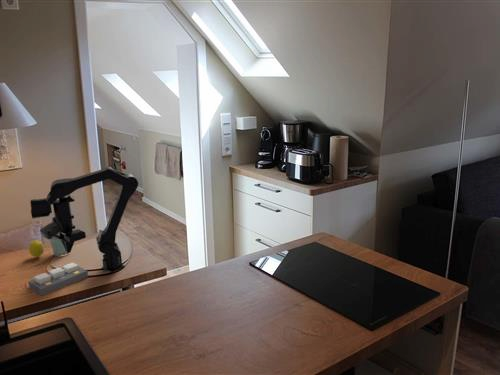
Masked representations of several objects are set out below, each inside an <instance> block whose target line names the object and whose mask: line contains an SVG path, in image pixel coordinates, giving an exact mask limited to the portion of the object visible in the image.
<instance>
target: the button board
mask: <svg viewBox="0 0 500 375" xmlns="http://www.w3.org/2000/svg"><path fill="white" fill-rule="evenodd" d="M61 269H63V267H62V268H61ZM64 272H65V271H64ZM47 274H48V275H49V273H47ZM88 277H89V272H88V270H86V269H85V268H83V267H81V266H79V265H78V270H77V271H74V272H71V273H69V274H68V273H67V272H65V275H64V276H61V277H59V278H56V279H54V278H52V277H50V278H51V281H48V282H46V283H43V284H38V283H36V282H35V279H34V278H32V279H31V280H28V287H29V289H31V290H33V291H34V292H36V293H37V294H39V295H40V296H44V295H47V294H49V293H52V292H54V291H57V290H59V289H62V288H65V287H66V286H70V285H72V284H74V283H76V282H79V281H81V280H84V279H86V278H88Z"/></svg>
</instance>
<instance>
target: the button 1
mask: <svg viewBox="0 0 500 375" xmlns="http://www.w3.org/2000/svg"><path fill="white" fill-rule="evenodd" d="M48 274H49V273H46V272H43V273H41V274H38V275H35V276H34V277H33V279H35V282H36V283H38V284H43V283H46V282H48V281H51V278H50V275H48Z"/></svg>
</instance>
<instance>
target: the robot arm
mask: <svg viewBox="0 0 500 375" xmlns="http://www.w3.org/2000/svg"><path fill="white" fill-rule="evenodd" d="M107 180H110V181H113V182H114V183H116V184H118V185H119V186H118V187H119V188H118V194H117V198H116V201H115V203H114V206H113V208H112V211H111V213H110V216H109V219H108V221H107V224H106V227H105V228H104V229H99V230H98V231H99V232H98V235H97V236H96V238H95V240H96V244H97V247H98V250H99V252H100V253H101V254H102V267H101V269H104V270H105V271H106V272H109V273H113V272H115V271H117V270H118V271H119V270H120V269H123V268H124V267H125V265H124V264H123V260H122V252H121V250H120V247H119V245H118V243H117V242H116V237H117V235H116V234H117V231H118V228H119V226H120V223H121V221H122V218H123V215H124V212H125V210H126V207H127V205H128V203H129V200H130V199H131V198H132V197H133V195H134V194H135V192H136V191H137V188H138V187H139V181H138V178H136V177H135V175H134V174H132V173H124V172H122V171H120V170H117V169H114V168H113V167H111V166H107V167H104V168H102V169H99V170H96V171H93V172H89V173H86V174H83V175H79V176H77V177H70V178H67V177H66V178H60V179H56V180H54V181H52V182H51V184H50V191H49V192H48V194H47V196H46V198H39V199H37V198H36V199H35V198H34V199H33V198H32V199H30V201H29V202H30V208H31V209H30V214H31V218H32V219H38V218H39V219H40V218H46V217H50V215H51V214H52V213H53V214H54V216H53V217H52V220H51V221H52V222H50V223H48V224H46V225H45V226H43V227H41V229H40V230H39V232H40V233H41V234H42V237H43V238H45V239H47V240H50V239H51V238H53V237H54V236H55V237H56V238H58V239H60V240H61V242H62V244H63V246H64V248H65V250H66V252H67V253H71V251H72V249H73V246H74V244H75V243H76V242H77V241H80V240H84V239H86V238H87V236H86V231H83V230H81V229H78V228H77V229H76V225H74V224H73V219H74V218H75V215H74V214H72V210H71V203H72V202H75V200H76V199H75V197H73V196H71V194H73V193H74V192H76V191H77V190H79V189H82V188H85V187H88V186H92V185H94V184H98V183H101V182H104V181H107ZM52 207H53V208H52ZM52 209H53V210H52Z"/></svg>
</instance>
